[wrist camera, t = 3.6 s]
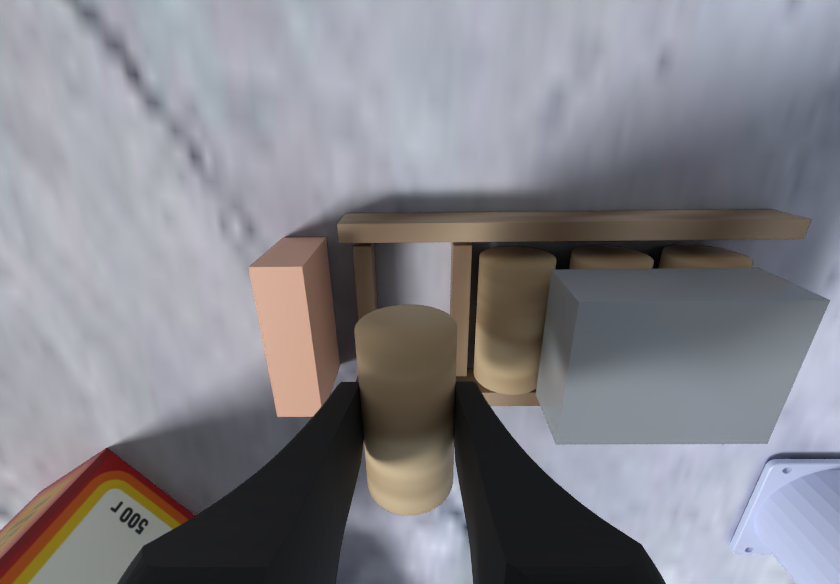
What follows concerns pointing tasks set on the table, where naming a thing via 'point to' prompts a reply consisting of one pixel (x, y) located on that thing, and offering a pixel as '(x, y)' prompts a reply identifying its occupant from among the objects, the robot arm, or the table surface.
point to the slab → (671, 354)
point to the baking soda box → (87, 525)
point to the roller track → (543, 270)
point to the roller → (407, 405)
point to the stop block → (297, 323)
